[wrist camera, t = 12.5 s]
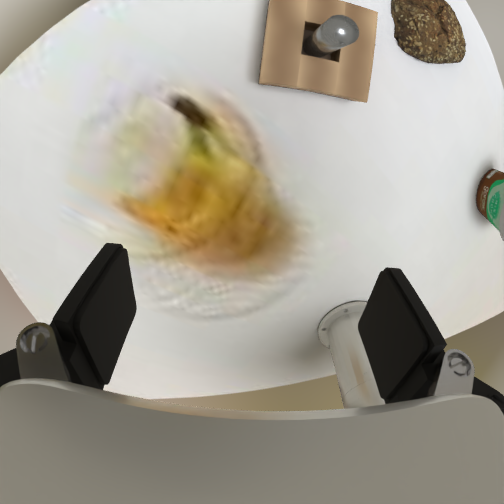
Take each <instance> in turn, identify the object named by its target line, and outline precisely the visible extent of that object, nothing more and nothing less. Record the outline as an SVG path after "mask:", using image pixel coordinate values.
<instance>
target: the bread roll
mask: <svg viewBox="0 0 504 504" xmlns="http://www.w3.org/2000/svg"><path fill="white" fill-rule="evenodd" d="M391 5H392V10H391V13H392V17H393V20H394V23H395V33H394V37H395V38H396V40H397V41H398V44H399V46H400V47H401V48H402V50H404V51H405V52H406V53H408V54H409V55H411V56H413V57H415V58H417V59H420V60H422V61H425V62H427V63H437V64H442V63H443V64H444V63H456V62H457V63H458V62H461V61H462V59H463V58H464V55H465V52H466V50H465V46H466V44H465V39H464V36H463V33H462V28H461V25H460V24H459V21H458V20H457V17H456V15H455V12H454V11H453V10H452V8H451V7H450V5H449V4H448V3H447V2H446V1H445V0H392V3H391Z"/></svg>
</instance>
